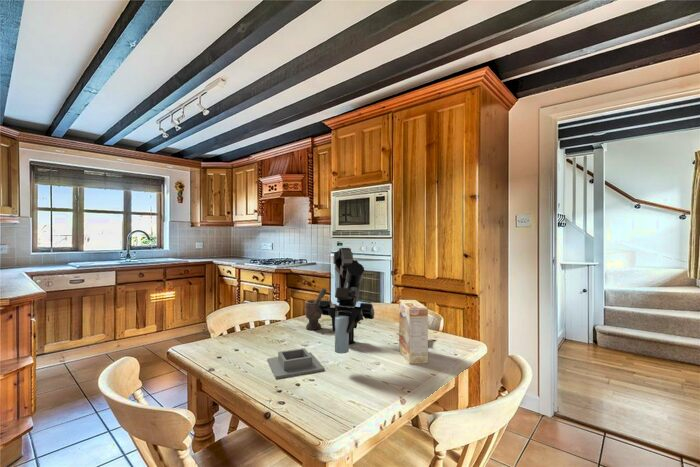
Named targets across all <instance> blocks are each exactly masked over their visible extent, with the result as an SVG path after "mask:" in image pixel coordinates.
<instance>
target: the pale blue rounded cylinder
mask: <svg viewBox="0 0 700 467" xmlns="http://www.w3.org/2000/svg"><path fill="white" fill-rule="evenodd" d="M348 324H349V317H348V316H336V317H335V332H334V352H335V353H337V354H341V355H343V354H347V353H349V350H350V349H349V347H350V344H349V333H347V328H348Z"/></svg>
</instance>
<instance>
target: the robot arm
mask: <svg viewBox="0 0 700 467" xmlns="http://www.w3.org/2000/svg"><path fill="white" fill-rule="evenodd" d="M332 260H333V265H334V270H336V272H337V273H338V283H339V285H338V286H339V287H336V288H335V294H334V295H335V296H334V297H335V299H336V302H337V303H338V304H336V303H333V302H332V301H331V300H325V299H321V301H320V302H319V305H318V307H319V309H320V311H321V313H322V316H329V317H330V318H331V326H332V329H331V330H332V332H333V333H335V317H336V316H348V317H349V324H348V328H347V333H349V345H352V344H356V341H355V340H354V339H355V336H354V335H355V334H354V333H355V331H354V330H355V329H357V328H358V323H359V322H360V321H364V319H367V320H374V319H375V309H374V306H373V304H372V303H370V302H368V303H367V302H360V303H359V306H356V305H357V303H358V302H359V294H360V289H361V286H362V285H361V284H362V281H363V276H364V274H365V267H364V265H362V264H361V263H360V262H359V261H358V260H356V259H355V260H354V254H353V252H352V248H350V247H340V248H339V249H338V250H337V251H335V252H334V253H333V258H332Z"/></svg>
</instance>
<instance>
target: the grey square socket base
mask: <svg viewBox="0 0 700 467" xmlns="http://www.w3.org/2000/svg"><path fill="white" fill-rule="evenodd" d="M266 362H267V363H268V365H269V368H270V370H271V372H272V375H273V377H274V378H275V380H277V379H278V380H279V379H284V378H289V377H296V376H302V375H307V374H312V373H313V374H314V373H319V372H325V367H324V366H323V365H322V363H320V361H319V360H318V358H316V357H315V355H314V354H313V353H312V352H309V351H308V350H307V349H306V348H305V347H303V348H295V349H289V350H281V351H278V352H277V357H276V356H275V357H269V358H267V360H266Z"/></svg>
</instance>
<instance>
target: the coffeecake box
mask: <svg viewBox="0 0 700 467" xmlns="http://www.w3.org/2000/svg"><path fill="white" fill-rule="evenodd" d="M428 309H429V307H427V306H425V305H424V304H422V303H420V302H419V301H418V300H416V299H399V300H398V350H399V351H400V354H402V356H403V357H404V358H405V360H406V361H407V362H408V364H409V365H416V364H428V363H429V351H428V350H429V346H428V345H429V343H428V342H429V334H428V332H429V318H428V317H429V315H428V313H429V311H428Z"/></svg>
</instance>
